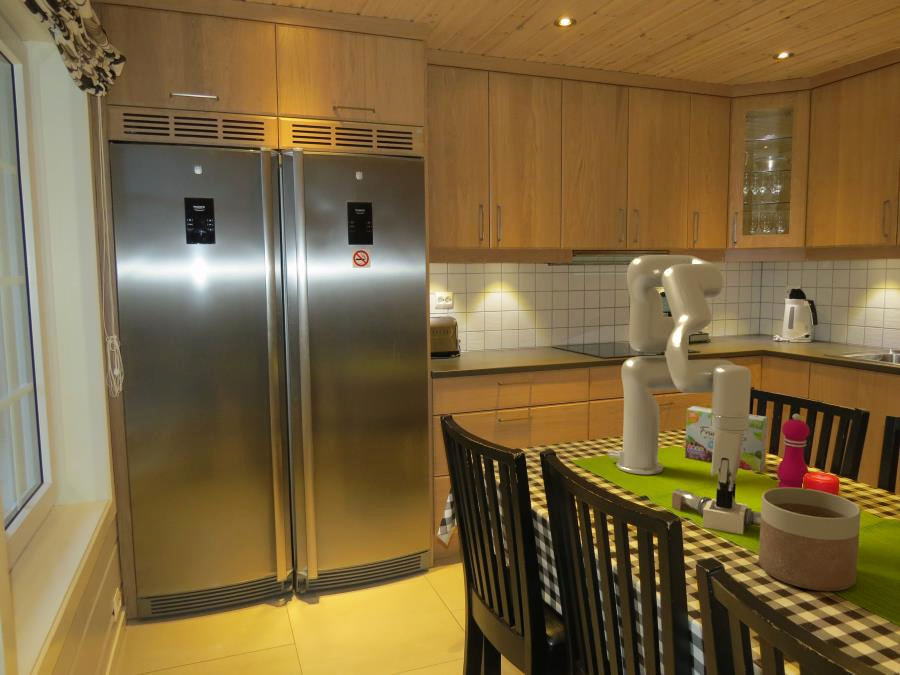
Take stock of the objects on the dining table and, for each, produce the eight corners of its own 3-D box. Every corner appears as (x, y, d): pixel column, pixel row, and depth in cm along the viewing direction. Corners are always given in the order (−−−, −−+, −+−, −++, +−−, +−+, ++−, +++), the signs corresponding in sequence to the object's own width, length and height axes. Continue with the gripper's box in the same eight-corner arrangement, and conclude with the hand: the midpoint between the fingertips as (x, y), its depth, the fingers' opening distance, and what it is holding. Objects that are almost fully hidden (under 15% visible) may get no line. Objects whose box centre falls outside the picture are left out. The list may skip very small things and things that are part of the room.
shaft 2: (743, 531, 140) (744, 511, 140) (745, 524, 144) (746, 504, 144) (790, 540, 136) (791, 519, 135) (791, 532, 140) (792, 512, 139)
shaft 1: (713, 515, 149) (714, 496, 149) (700, 519, 147) (701, 500, 147) (682, 503, 157) (683, 485, 156) (669, 506, 155) (670, 488, 154)
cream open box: (702, 527, 143) (703, 509, 142) (708, 514, 150) (709, 498, 149) (742, 534, 139) (743, 516, 138) (746, 521, 146) (747, 504, 145)
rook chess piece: (710, 505, 146) (712, 470, 145) (729, 504, 146) (731, 470, 145) (720, 513, 142) (722, 477, 141) (740, 512, 142) (742, 476, 141)
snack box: (683, 458, 193) (686, 408, 192) (690, 454, 198) (693, 405, 196) (760, 473, 180) (763, 419, 178) (766, 468, 184) (769, 415, 182)
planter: (819, 603, 111) (824, 525, 110) (739, 564, 125) (743, 495, 123) (874, 582, 118) (880, 508, 117) (793, 548, 132) (797, 482, 131)
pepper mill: (812, 497, 161) (817, 417, 159) (780, 495, 162) (785, 416, 160) (802, 487, 168) (807, 411, 166) (772, 485, 169) (776, 409, 167)
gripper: (716, 412, 151) (712, 489, 153) (705, 428, 136) (701, 513, 138) (752, 416, 147) (747, 494, 149) (744, 433, 133) (739, 520, 135)
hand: (725, 502), depth 144 cm, fingers closed on rook chess piece, 4 cm apart
